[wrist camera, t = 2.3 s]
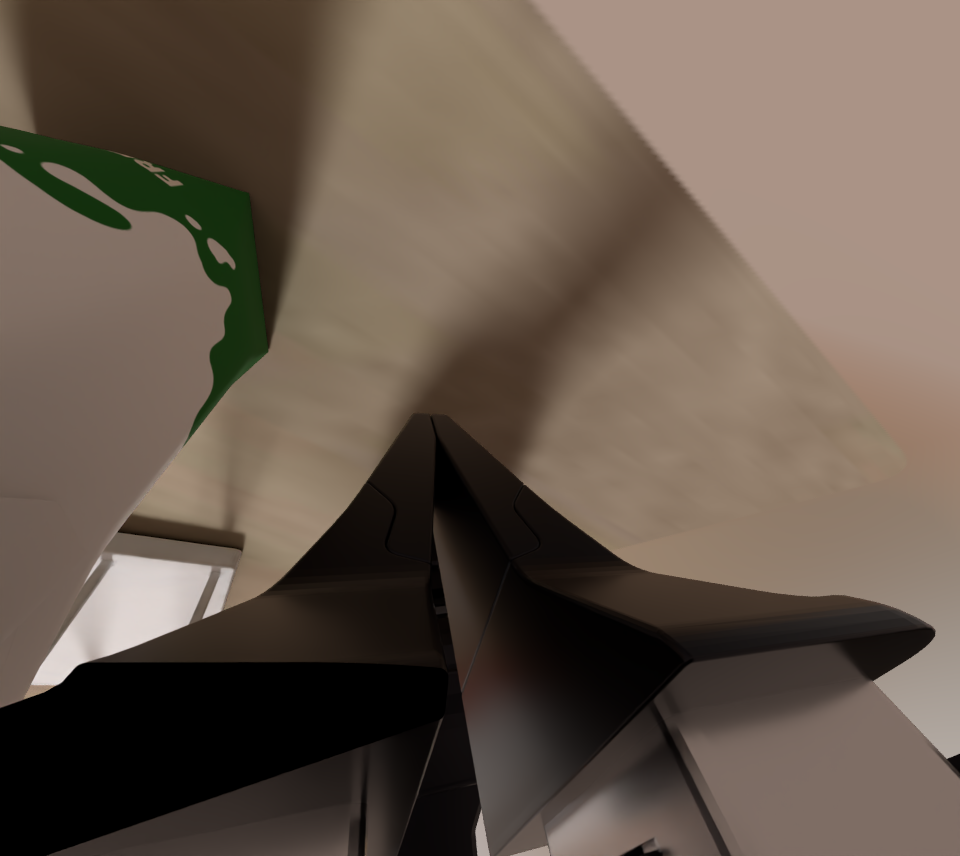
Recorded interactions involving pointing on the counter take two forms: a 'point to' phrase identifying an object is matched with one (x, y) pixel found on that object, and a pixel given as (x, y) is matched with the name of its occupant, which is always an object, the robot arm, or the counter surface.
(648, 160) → the counter surface
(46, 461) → the soya milk
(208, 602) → the file sorter
